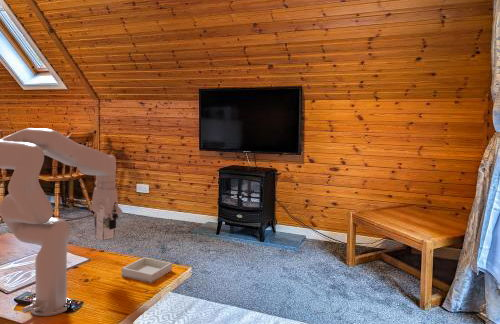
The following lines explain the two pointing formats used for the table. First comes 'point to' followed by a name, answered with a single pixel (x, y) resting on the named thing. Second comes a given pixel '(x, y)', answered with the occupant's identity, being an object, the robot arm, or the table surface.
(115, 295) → the table surface
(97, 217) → the syrup box
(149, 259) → the tray
